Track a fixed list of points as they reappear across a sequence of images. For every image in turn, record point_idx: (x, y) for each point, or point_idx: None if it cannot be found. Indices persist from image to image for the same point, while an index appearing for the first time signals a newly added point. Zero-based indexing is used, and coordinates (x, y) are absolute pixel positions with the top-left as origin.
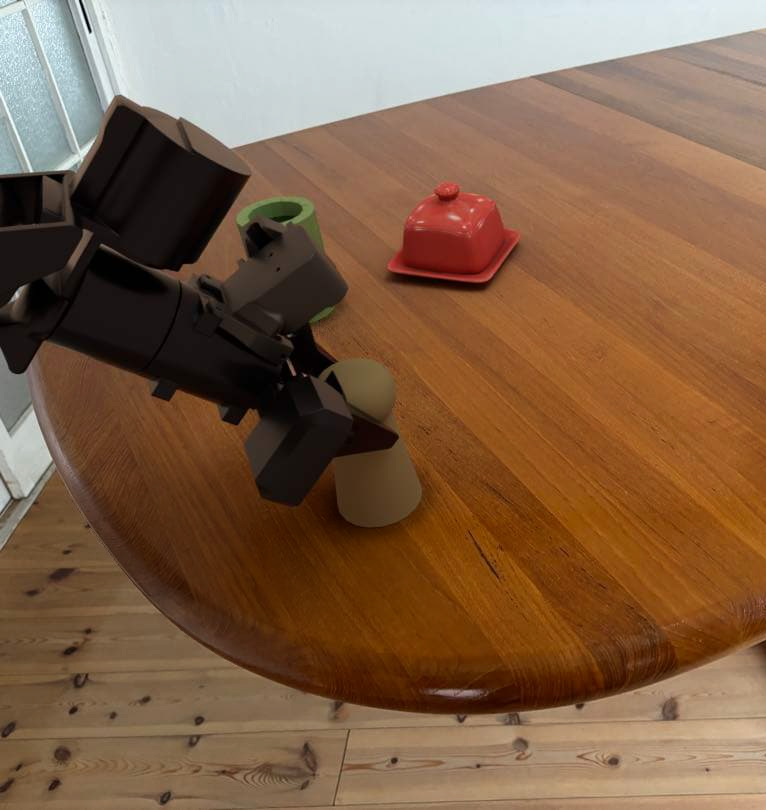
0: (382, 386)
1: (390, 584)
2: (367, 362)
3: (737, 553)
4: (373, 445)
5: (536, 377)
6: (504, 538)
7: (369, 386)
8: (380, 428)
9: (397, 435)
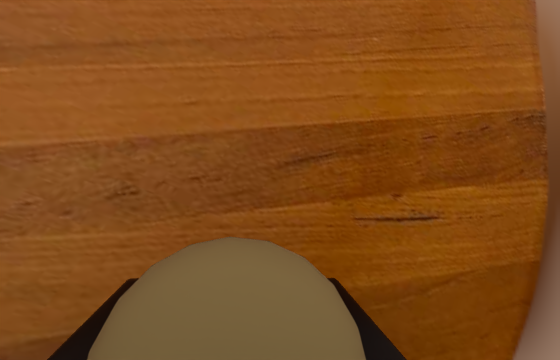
0: (331, 296)
1: (399, 345)
2: (191, 313)
3: (489, 7)
4: None
5: (111, 7)
6: (384, 185)
7: (342, 350)
8: (381, 332)
9: (337, 282)
